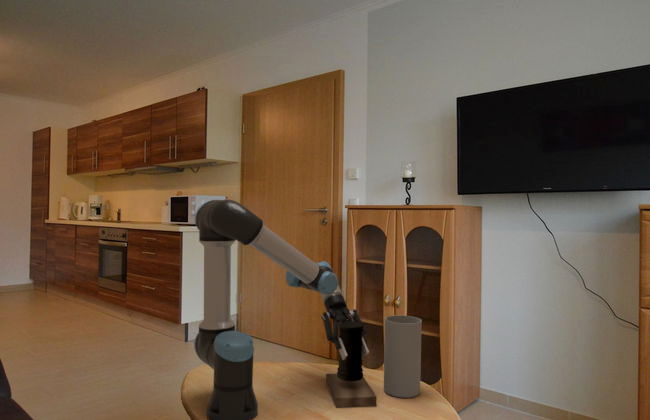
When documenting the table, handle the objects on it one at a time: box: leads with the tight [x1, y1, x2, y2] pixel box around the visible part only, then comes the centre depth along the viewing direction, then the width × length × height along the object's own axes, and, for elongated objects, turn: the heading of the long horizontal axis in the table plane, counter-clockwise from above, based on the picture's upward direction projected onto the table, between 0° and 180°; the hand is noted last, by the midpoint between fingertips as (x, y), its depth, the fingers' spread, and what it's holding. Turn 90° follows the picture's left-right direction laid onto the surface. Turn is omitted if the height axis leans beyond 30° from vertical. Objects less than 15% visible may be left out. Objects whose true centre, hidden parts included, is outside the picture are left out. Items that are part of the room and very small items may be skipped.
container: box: [336, 322, 364, 381], centre depth 156 cm, size 9×9×18 cm
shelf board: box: [325, 373, 377, 409], centre depth 155 cm, size 13×22×3 cm, turn 8°
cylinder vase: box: [383, 314, 423, 399], centre depth 158 cm, size 12×12×25 cm
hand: (355, 355), depth 153 cm, fingers closed on container, 8 cm apart
